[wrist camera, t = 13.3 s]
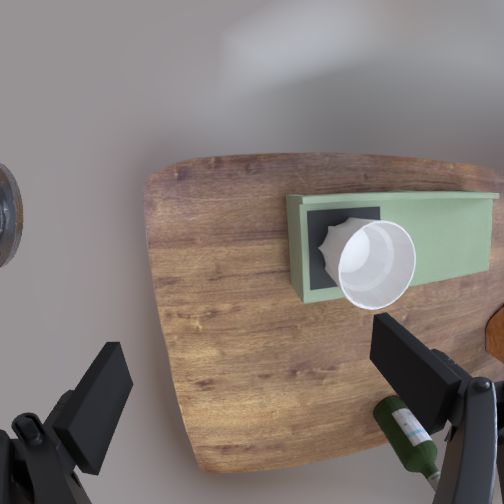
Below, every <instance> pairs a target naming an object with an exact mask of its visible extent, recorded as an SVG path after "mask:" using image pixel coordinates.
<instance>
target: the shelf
mask: <svg viewBox="0 0 504 504" xmlns="http://www.w3.org/2000/svg"><path fill="white" fill-rule="evenodd" d="M492 199H499V193H491V192H481V191H470V190H459V191H405V190H388V192H364V193H340V194H320V195H299V194H286V209H287V224H288V240H289V258H290V277H291V285H292V287H293V288H294V290H295V291H296V293H297V294H298V296H299V297H300V299H301V300H302V302H303V303H304V304H305V303H312V302H319V301H326V300H333V299H340V298H347V297H346V296H345V295H344V293H343V292H342V291H341V289H340V288H339V287H338V285H337V284H336V283H335V281H334V280H333V279H332V278H331V276H330V275H329V274H328V273H327V271H326V270H325V266H326V262H325V259H324V256H323V253H322V252H321V251H320V250H319V247H320V246H321V245H322V244H323V242H324V240H325V238H326V236H327V234H328V226H337V225H339V224H342V223H344V222H346V220H347V219H348V218H358V219H369V220H383V221H389V222H393V223H396V224H397V225H399V226H401V227H402V228H403V229H404V230H405V231H406V232H407V233H408V234H409V235H410V237H411V240H412V242H413V244H414V248H415V253H416V266H415V270H414V274H413V277H412V280H411V282H410V284H409V286H408V287H411V286H416V285H421V284H426V283H431V282H436V281H441V280H446V279H450V278H455V277H460V276H464V275H469V274H473V273H477V272H481V271H486V270H488V266H489V257H490V245H491V229H492Z"/></svg>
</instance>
